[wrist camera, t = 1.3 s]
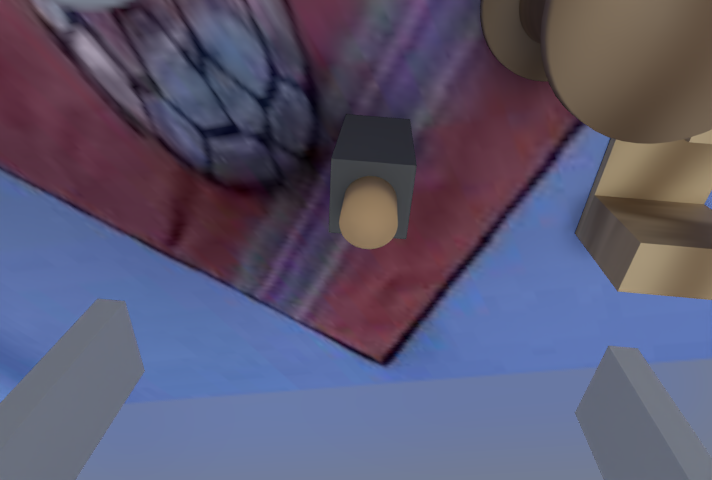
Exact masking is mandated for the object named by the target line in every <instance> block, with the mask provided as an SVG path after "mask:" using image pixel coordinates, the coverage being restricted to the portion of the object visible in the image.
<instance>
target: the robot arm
mask: <svg viewBox="0 0 712 480" xmlns="http://www.w3.org/2000/svg"><path fill="white" fill-rule="evenodd" d="M144 371H145V370H144V367H143V363H142V360H141V356H140V353H139V349H138V346H137V342H136V339H135V335H134V331H133V328H132V324H131V321H130V317H129V314H128V310H127V307H126V303H125V301H117V300H106V299H97V300H96V301H95V302H94V303H93V304H92V305H91V306H90V308H89V309H88V310H87V311H86V312H85V313H84V314H83V315H82V316H81V317H80V318H79V319H78V320H77V321H76V323H75V324H74V325H73V326H72V327H71V328H70V329H69V330H68V331H67V332H66V333H65V334H64V335H63V336H62V338H61V339H60V340H59V341H58V342H57V343H56V344H55V345H54V346H53V347H52V348H51V349H50V350H49V351H48V353H47V354H46V355H45V356H44V357H43V358H42V359H41V360H40V361H39V362H38V363H37V364H36V365H35V366H34V368H33V369H32V370H31V371H30V372H29V373H28V374H27V375H26V376H25V377H24V378H23V379H22V380H21V381H20V383H19V384H18V385H17V386H16V387H15V388H14V389H13V390H12V391H11V392H10V393H9V394H8V395H7V397H6V398H5V399H4V400H3V401H2V402H1V403H0V480H76V478H77V476H78V475H79V473H80V472H81V470H82V469H83V467H84V465H85V464H86V462H87V461H88V459H89V458H90V456H91V455H92V453H93V451H94V450H95V448H96V447H97V445H98V443H99V442H100V440H101V439H102V437H103V436H104V434H105V433H106V431H107V429H108V428H109V426H110V425H111V423H112V421H113V420H114V418H115V417H116V415H117V414H118V412H119V410H120V409H121V407H122V406H123V404H124V403H125V401H126V400H127V398H128V396H129V395H130V393H131V392H132V390H133V389H134V387H135V385H136V384H137V382H138V381H139V379H140V378H141V376H142V374H143V373H144ZM575 414H576V416H577V418H578V421H579V423H580V426H581V428H582V430H583V433H584V435H585V437H586V439H587V442H588V444H589V447H590V449H591V451H592V453H593V456H594V458H595V460H596V463H597V465H598V467H599V470H600V472H601V474H602V476H603V479H604V480H712V458H711V456H710V454H709V453H708V452H707V450H706V448H705V447H704V446H703V444H702V443H701V441H700V440H699V438H698V437H697V435H696V434H695V432H694V431H693V429H692V428H691V427H690V425H689V423H688V422H687V421H686V419H685V417H684V416H683V415H682V413H681V412H680V410H679V409H678V407H677V406H676V404H675V403H674V401H673V400H672V398H671V397H670V395H669V394H668V392H667V391H666V390H665V388H664V387H663V385H662V384H661V382H660V381H659V379H658V378H657V376H656V375H655V373H654V372H653V370H652V369H651V367H650V366H649V364H648V363H647V361H646V360H645V359H644V357H643V356H642V354H641V353H640V351H639V350H638V348H627V347H616V346H608V348H607V350H606V352H605V354H604V356H603V358H602V360H601V362H600V364H599V366H598V368H597V370H596V372H595V374H594V376H593V378H592V380H591V382H590V384H589V386H588V388H587V390H586V392H585V394H584V396H583V398H582V400H581V402H580V404H579V406H578V408H577V410H576V412H575Z"/></svg>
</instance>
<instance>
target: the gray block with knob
mask: <svg viewBox="0 0 712 480" xmlns="http://www.w3.org/2000/svg"><path fill="white" fill-rule="evenodd" d="M416 166H417V165H416V158H415V152H414V145H413V138H412V131H411V124H410V119H399V118H387V117H374V116H362V115H350V114H346V116H345V119H344V122H343V125H342V128H341V131H340V134H339V137H338V140H337V143H336V146H335V149H334V152H333V155H332V158H331V182H330V212H329V232H331V233H342V235H343V236H344V238H345V239H346V240H347V241H348V242H349V243H351V244H352V245H354V246H356V247H359V248H363V249H375V248H379V247H382V246H384V245H386V244H387V243H388V242H390V241H391V240H392V239H393V238H399V239H406V236H407V229H408V222H409V215H410V208H411V201H412V194H413V187H414V180H415V173H416Z"/></svg>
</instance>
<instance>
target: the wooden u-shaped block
mask: <svg viewBox="0 0 712 480" xmlns="http://www.w3.org/2000/svg"><path fill="white" fill-rule="evenodd" d="M711 190H712V130H710V131H707V132H705V133H702V134H699V135H696V136H693V137H690V138H687V139H682V140H677V141H672V142H666V143H656V144H640V143H631V142H624V141H620V140H617V139H613V138H611V139H610V142H609V145H608V147H607V150H606V153H605V155H604V158H603V161H602V163H601V166H600V169H599V171H598V174H597V176H596V179H595V182H594V184H593V187H592V190H591V192H590V195H589V198H588V200H587V203H586V205H585V208H584V211H583V213H582V216H581V219H580V221H579V224H578V227H577V229H576V232H575V234H576V236H577V237H578V238H579V240H580V241H581V242H582V244H583V245H584V247H585V248H586V249H587V251H588V252H589V253H590V255H591V256H592V257H593V259H594V260H595V261H596V263H597V264H598V265H599V267H600V268H601V269H602V271H603V272H604V274H605V275H606V276H607V278H608V279H609V280H610V282H611V283H612V284H613V286H614V287H615V288H616V290H617V291H619V292H630V293H641V294H653V295H664V296H675V297H686V298H697V299H708V300H712V210H711V209H710V208H708V207H707V206H705V205H704V203H705V201H706V200H707V198H708V196H709V194H710V192H711Z"/></svg>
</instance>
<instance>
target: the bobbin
mask: <svg viewBox="0 0 712 480" xmlns="http://www.w3.org/2000/svg"><path fill="white" fill-rule="evenodd" d="M480 18H481V26H482V30H483V35H484V38H485V40H486V43H487V45H488V47H489V49H490V50H491V52H492V53H493V55H494V56H495V57H496V59H497V60H498V61H499V62H500V63H501V64H503V65H504V66H505V67H506V68H508V69H509V70H511V71H512V72H514V73H515V74H517V75H519V76H521V77H524V78H527V79H530V80H536V81H548V82H549V84H550V86H551V88H552V90H553V92H554V94H555V96H556V97H557V98H558V99H559V101H560V102H561V103H562V105H563V106H564V107H565V108H566V109H567V110H568V111H569V112H570V113H571V114H572V115H573V116H575V117H576V118H578V119H579V120H580V121H582V122H583V123H585V124H586V125H587V126H589V127H590V128H592V129H593V130H595V131H597V132H599V133H601V134H603V135H605V136H607V137H610V138H613V139H617V140H620V141H624V142H631V143H640V144H656V143H666V142H672V141H677V140H682V139H687V138H690V137H693V136H696V135H699V134H702V133H705V132H707V131H710V130H712V0H481V5H480Z"/></svg>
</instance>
